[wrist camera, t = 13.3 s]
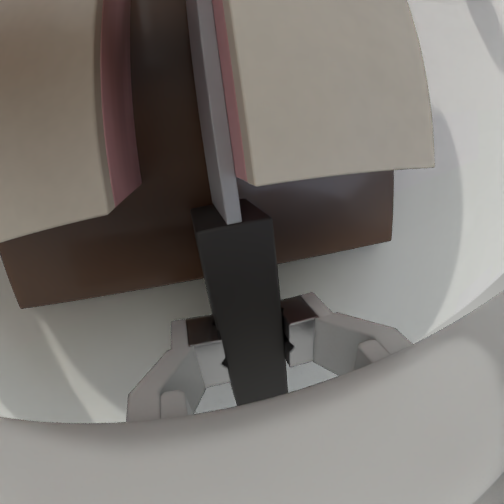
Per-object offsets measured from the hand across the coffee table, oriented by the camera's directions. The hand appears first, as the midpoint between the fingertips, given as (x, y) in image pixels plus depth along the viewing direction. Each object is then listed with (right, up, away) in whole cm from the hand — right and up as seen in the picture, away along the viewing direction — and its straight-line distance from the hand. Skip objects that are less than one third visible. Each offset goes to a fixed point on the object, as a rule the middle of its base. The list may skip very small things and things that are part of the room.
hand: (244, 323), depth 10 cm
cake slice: (+1, +10, -1) cm, 10 cm away
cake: (-3, +10, -1) cm, 11 cm away
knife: (-1, +5, 0) cm, 5 cm away
